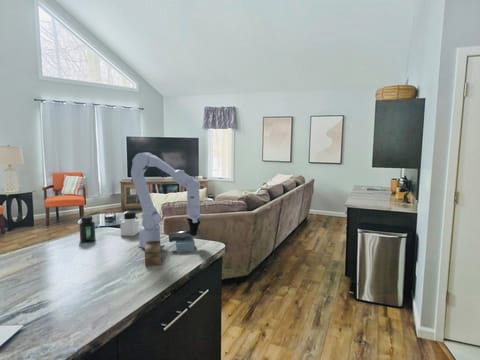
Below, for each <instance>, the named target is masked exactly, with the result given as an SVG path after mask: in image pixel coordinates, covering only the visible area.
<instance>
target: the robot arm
mask: <svg viewBox="0 0 480 360" xmlns="http://www.w3.org/2000/svg"><path fill="white" fill-rule="evenodd" d="M149 167H150V168H151V167H152V168H154V167H156V168H157V169H159V170H161V171H163V172H164V173H166V174H168V175H169V176H171V179H172V181H174V182H176V183H177V184H178V185H180V186H181V187H183V188H185V190H186V192H187V193H186V194H187V195H186V198H187V199H186V204H187V205H186V212H187V213H186V220H187V223H188V225H189V230H191V235H192V236H196V235H197V230H198V228H199V226H200V224H201V220H199V219H200V218H201V217H203V214H202V213H201V209H200V207H201V205H200V202H201V200H200V198H201V197H200V188H201V182H200V181H199V180H198V178H194V176H190V175H189V174H187V173H186V172H185V170H184V169H175V168H174V167H172V166H171V165H169V164H168V163H167V162H166V161H164V160H163V159H161V158H159V157H158V156H157V155H155V154H152V153H151V152H147V151H146V152H145V151H144V152H138V153H137V154H135V156H134V157H133V159H132V166H131V170H130V175H131V179H132V181H133V185H134V187H135V191H136V194H137V197H138V200H139V204H140V206H141V211H142V212H141V218H142V222H141V223H142V224H141V225H142V227H141V228H140V229H139V233H138V235H139V236H138V239H139V241H138V243H139V245H137V246H138V247H139V248H142V249H145V247H146V242H147V241H160V242H161V226H160V223H161V221H162V216H161V214H160V213H159V212H158V209H157V207H156V206H154V204H153V203H154V202H153V200H152V196H151V194H150V190H149V187H148V184H147V181H146V178H145V172H146V171H147V169H148V168H149ZM164 246H165V244H163V243H160V247H164Z"/></svg>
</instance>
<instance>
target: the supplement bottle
mask: <svg viewBox="0 0 480 360" xmlns="http://www.w3.org/2000/svg"><path fill="white" fill-rule="evenodd" d="M80 221H81V222H80V223H79V224H78V225H79V241H80V243H83V244H84V243H92V242H95V240H96V223H95V222H94V221H93V216H92V215H85V216H81V219H80Z"/></svg>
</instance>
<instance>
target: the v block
mask: <svg viewBox="0 0 480 360" xmlns="http://www.w3.org/2000/svg"><path fill="white" fill-rule="evenodd" d="M195 245H196V243H195V240H194V238H191V239H186V240H180V241H175V249H176V253H184V252H195V251H196V250H195V247H196V246H195Z"/></svg>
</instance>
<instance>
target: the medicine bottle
mask: <svg viewBox="0 0 480 360" xmlns="http://www.w3.org/2000/svg"><path fill="white" fill-rule="evenodd" d="M136 213H137V212H135V211H133V210H129V211H127V210H126V211H124V212H123V221H120V225H119V226H120V236H123V237H125V236H126V237H134V236H136V235H138V234H139V232H140V219H137V217H136Z"/></svg>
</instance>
